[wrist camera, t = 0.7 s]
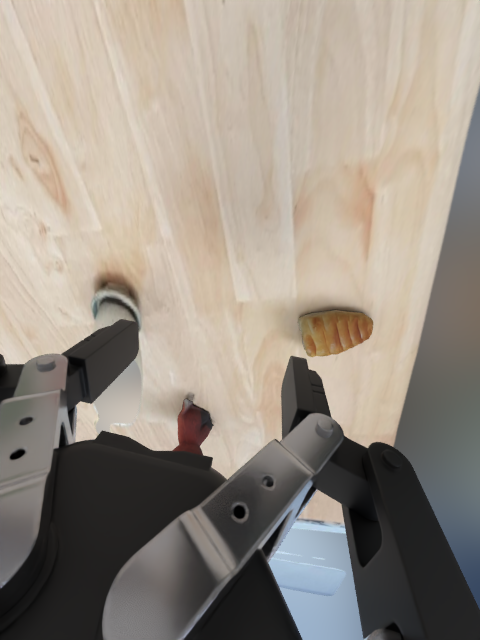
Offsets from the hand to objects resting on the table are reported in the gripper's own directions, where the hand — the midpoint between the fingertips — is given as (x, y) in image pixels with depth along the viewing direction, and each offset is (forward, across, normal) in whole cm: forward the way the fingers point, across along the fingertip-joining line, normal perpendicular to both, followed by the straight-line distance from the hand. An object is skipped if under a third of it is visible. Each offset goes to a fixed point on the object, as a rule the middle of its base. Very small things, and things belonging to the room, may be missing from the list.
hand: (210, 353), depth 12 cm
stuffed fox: (+25, +6, +32) cm, 41 cm away
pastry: (+22, -12, +6) cm, 26 cm away
